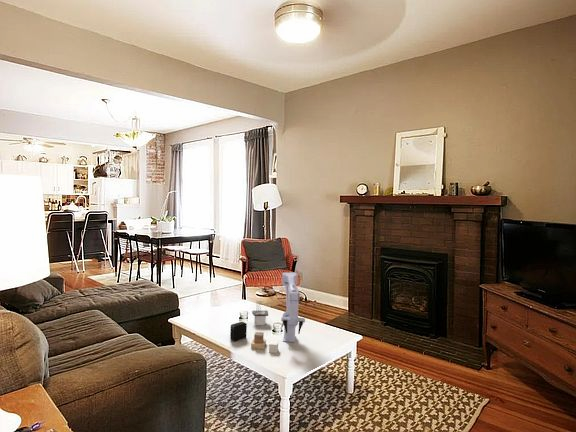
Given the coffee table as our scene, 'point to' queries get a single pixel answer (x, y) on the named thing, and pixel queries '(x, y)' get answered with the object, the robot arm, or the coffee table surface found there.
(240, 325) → the electronic device
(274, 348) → the grey cube
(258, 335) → the walnut cube
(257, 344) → the oak base
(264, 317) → the oil diffuser
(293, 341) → the robot arm
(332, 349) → the coffee table surface
